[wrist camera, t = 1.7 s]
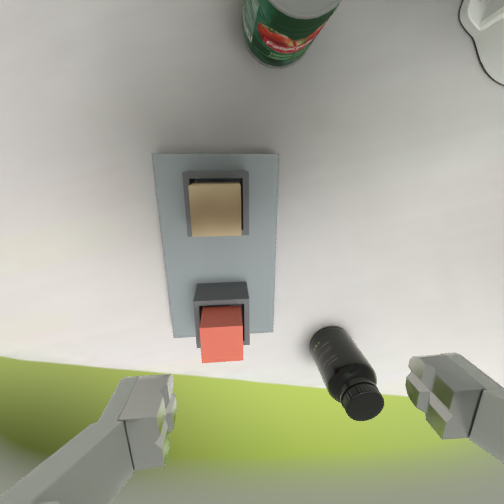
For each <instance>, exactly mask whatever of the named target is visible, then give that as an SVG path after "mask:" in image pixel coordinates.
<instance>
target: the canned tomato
mask: <svg viewBox="0 0 504 504" xmlns="http://www.w3.org/2000/svg"><path fill="white" fill-rule="evenodd" d="M341 1H342V0H244V3H243V12H242V33H243V38H244V41H245V44H246V46H247V48H248V49H249V51H250V53H251V54H252V55H253V56H254V58H255V59H257V60H258V61H259V62H260V63H262V64H264V65H265V66H268V67H271V68H284V67H288V66H290V65H292V64H294V63H295V62H297V61H298V60H299V59H300V58H301V57H302V56H303V55H304V54H305V52H306V50H307V49H308V47H309V46H310V45H311V43H312V42H313V40H314V39H315V38H316V36H317V35H318V33H319V32H320V30H321V29H322V28H323V26H324V25H325V23H326V22H327V21H328V19H329V18H330V16H331V15H332V14H333V12H334V11H335V10H336V8H337V6H338V5H339V3H340V2H341Z"/></svg>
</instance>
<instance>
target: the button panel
mask: <svg viewBox="0 0 504 504" xmlns="http://www.w3.org/2000/svg"><path fill="white" fill-rule="evenodd" d="M152 160H153V168H154V177H155V185H156V194H157V202H158V210H159V219H160V227H161V236H162V244H163V252H164V261H165V269H166V278H167V286H168V295H169V303H170V311H171V320H172V328H173V337H174V338H182V337H196V342H197V348H201V342H200V330H199V327H200V321H201V315H202V309H203V307H220V306H240V305H241V313H242V323H243V345H250V339H249V333H266V332H273V320H274V289H275V258H276V227H277V196H278V165H279V154H204V153H152ZM203 182H239V183H240V185H241V232H242V236H206V237H192V228H191V215H190V202H189V190H188V186H189V185H191V184H192V183H203Z"/></svg>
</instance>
